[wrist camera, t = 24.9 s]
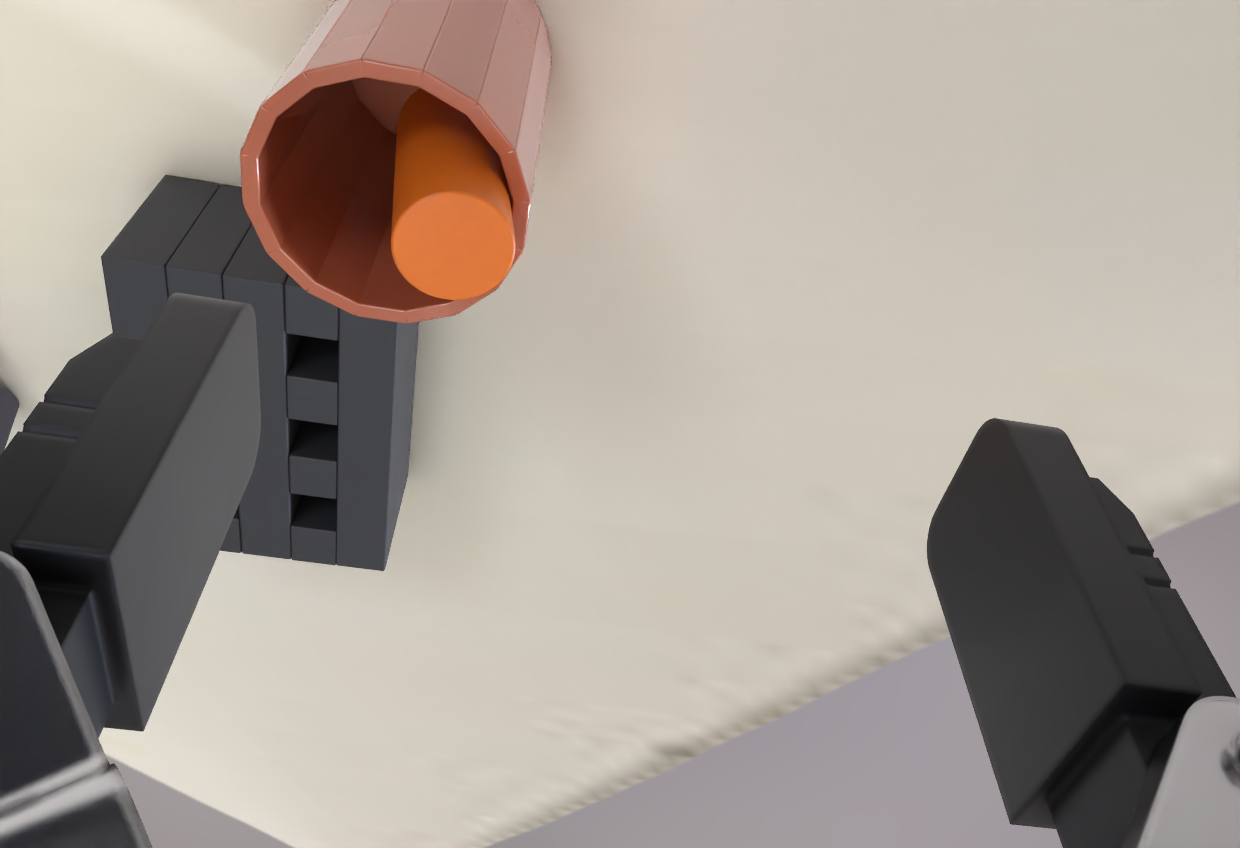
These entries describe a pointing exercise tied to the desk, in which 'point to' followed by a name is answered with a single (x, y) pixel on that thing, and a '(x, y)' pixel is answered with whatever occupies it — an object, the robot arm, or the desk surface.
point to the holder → (283, 378)
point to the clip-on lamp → (6, 415)
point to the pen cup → (386, 137)
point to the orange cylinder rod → (448, 203)
